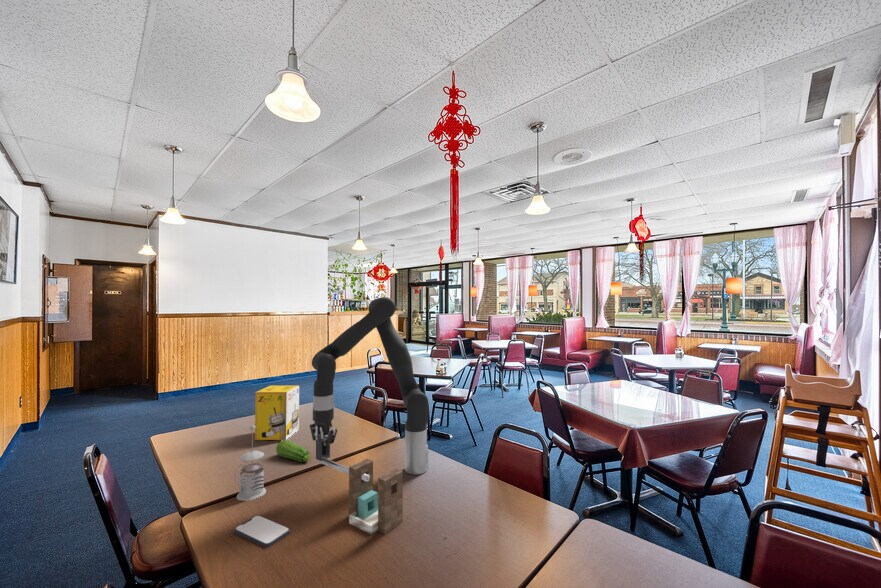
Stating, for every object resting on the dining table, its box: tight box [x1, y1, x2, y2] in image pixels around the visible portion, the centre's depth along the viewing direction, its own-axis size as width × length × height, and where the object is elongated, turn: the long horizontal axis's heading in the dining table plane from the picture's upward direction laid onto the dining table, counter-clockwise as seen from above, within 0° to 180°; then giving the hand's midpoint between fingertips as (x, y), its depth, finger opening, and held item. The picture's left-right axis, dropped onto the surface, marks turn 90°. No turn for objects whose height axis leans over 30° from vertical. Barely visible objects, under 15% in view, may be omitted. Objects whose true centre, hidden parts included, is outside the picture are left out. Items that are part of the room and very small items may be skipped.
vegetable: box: [275, 439, 311, 463], centre depth 165 cm, size 7×7×20 cm
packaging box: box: [254, 385, 300, 441], centre depth 195 cm, size 16×16×25 cm
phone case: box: [233, 515, 291, 548], centre depth 111 cm, size 9×2×16 cm
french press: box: [234, 424, 267, 502], centre depth 134 cm, size 10×12×25 cm
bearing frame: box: [348, 458, 404, 536], centre depth 118 cm, size 16×13×16 cm
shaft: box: [315, 438, 370, 482], centre depth 128 cm, size 26×4×9 cm, turn 54°
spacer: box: [358, 489, 378, 519], centre depth 120 cm, size 3×6×6 cm, turn 144°
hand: (322, 453), depth 134 cm, fingers closed on shaft, 3 cm apart
